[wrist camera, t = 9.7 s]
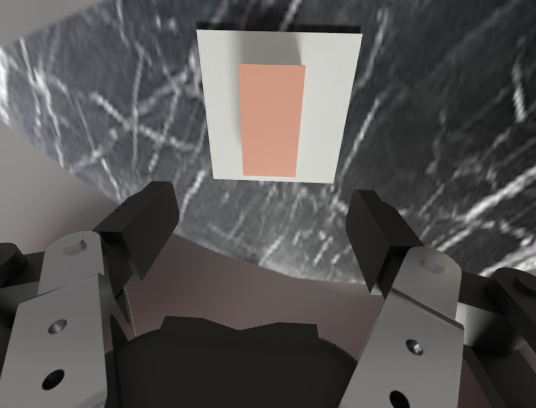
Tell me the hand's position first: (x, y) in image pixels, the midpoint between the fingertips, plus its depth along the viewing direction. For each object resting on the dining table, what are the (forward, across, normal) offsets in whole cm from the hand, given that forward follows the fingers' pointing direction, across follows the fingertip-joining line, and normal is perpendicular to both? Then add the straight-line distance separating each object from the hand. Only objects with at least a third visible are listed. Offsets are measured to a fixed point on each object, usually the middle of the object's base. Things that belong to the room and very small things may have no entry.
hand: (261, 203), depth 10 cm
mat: (+18, 0, 0) cm, 18 cm away
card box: (+17, 0, 0) cm, 17 cm away
